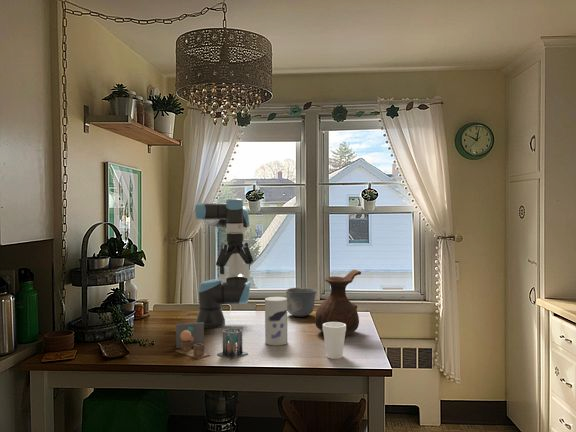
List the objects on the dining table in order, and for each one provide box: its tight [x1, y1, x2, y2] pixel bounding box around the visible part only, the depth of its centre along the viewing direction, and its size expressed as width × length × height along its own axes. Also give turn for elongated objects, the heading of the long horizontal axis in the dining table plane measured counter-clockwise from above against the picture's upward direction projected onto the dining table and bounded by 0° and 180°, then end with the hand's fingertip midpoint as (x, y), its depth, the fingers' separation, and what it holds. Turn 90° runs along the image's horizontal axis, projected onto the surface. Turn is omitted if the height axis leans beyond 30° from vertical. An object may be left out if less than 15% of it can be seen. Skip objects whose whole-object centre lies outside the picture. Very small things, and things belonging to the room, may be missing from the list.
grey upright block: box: [175, 322, 205, 349], centre depth 212 cm, size 5×12×10 cm, turn 102°
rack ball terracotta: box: [180, 330, 191, 341], centre depth 203 cm, size 5×5×5 cm
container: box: [264, 296, 288, 346], centre depth 215 cm, size 10×10×20 cm
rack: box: [175, 340, 211, 360], centre depth 200 cm, size 16×6×5 cm, turn 47°
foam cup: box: [322, 322, 346, 360], centre depth 195 cm, size 10×9×13 cm
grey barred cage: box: [216, 327, 249, 360], centre depth 198 cm, size 9×9×10 cm
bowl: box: [285, 287, 317, 318], centre depth 268 cm, size 18×18×15 cm
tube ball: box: [227, 341, 237, 353], centre depth 198 cm, size 5×5×5 cm
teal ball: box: [228, 331, 237, 344], centre depth 197 cm, size 5×5×5 cm
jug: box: [314, 269, 362, 337], centre depth 231 cm, size 22×22×30 cm
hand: (235, 279), depth 217 cm, fingers open, 13 cm apart
